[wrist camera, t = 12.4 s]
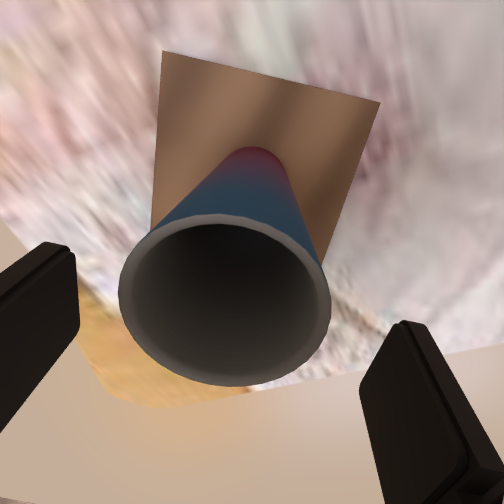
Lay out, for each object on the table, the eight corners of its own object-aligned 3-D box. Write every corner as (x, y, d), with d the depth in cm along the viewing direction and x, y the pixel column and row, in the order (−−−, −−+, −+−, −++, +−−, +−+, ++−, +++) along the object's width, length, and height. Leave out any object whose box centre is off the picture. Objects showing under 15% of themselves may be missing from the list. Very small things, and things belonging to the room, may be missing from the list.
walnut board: (375, 101, 22) (380, 102, 21) (313, 274, 28) (315, 282, 27) (167, 51, 21) (162, 50, 20) (153, 240, 28) (149, 247, 27)
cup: (304, 218, 25) (339, 379, 11) (217, 231, 26) (157, 394, 12) (292, 123, 22) (320, 194, 8) (194, 142, 23) (81, 233, 9)
